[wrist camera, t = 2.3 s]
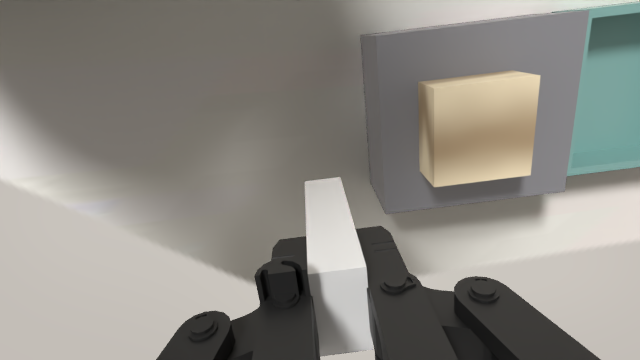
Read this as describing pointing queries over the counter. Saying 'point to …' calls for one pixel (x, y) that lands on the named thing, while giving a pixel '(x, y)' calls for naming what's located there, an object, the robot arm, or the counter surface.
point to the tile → (477, 127)
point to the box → (608, 92)
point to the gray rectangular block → (464, 60)
